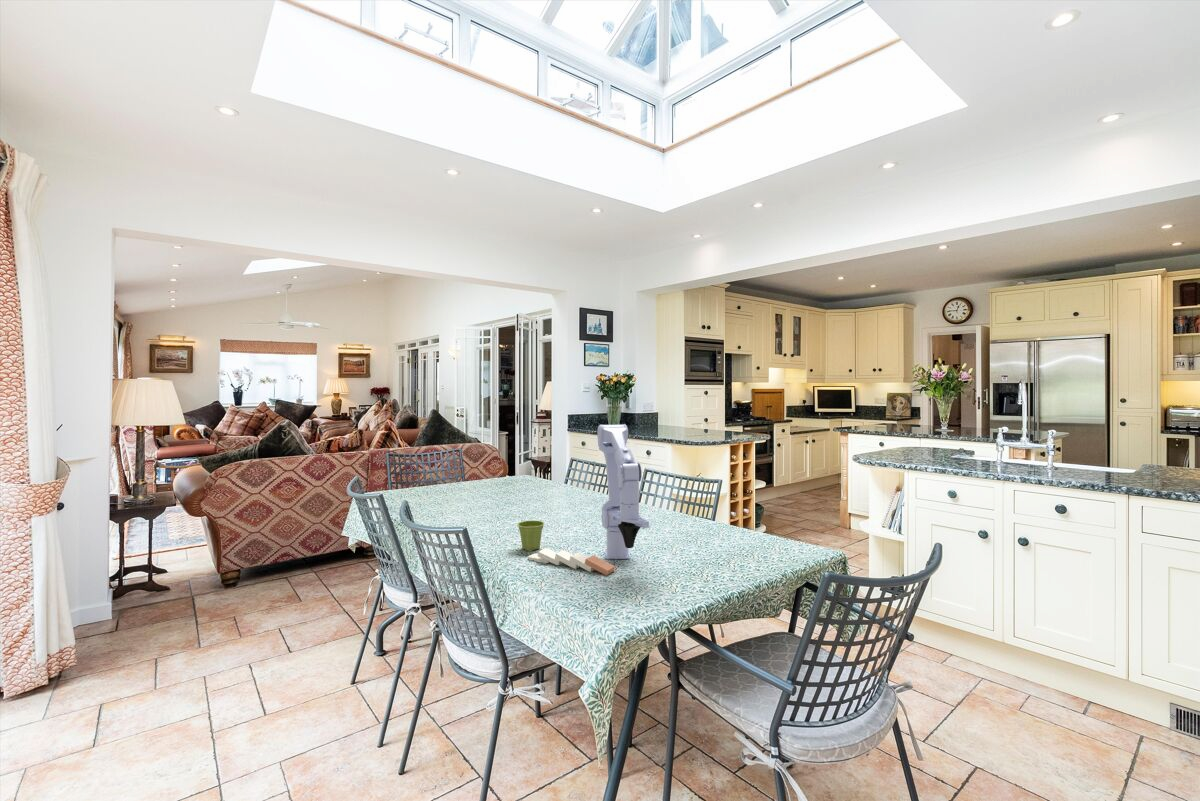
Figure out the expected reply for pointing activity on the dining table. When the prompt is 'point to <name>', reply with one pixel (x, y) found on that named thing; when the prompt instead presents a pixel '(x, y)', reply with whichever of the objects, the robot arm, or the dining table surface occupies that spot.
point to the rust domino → (599, 565)
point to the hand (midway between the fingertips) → (629, 547)
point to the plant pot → (530, 534)
